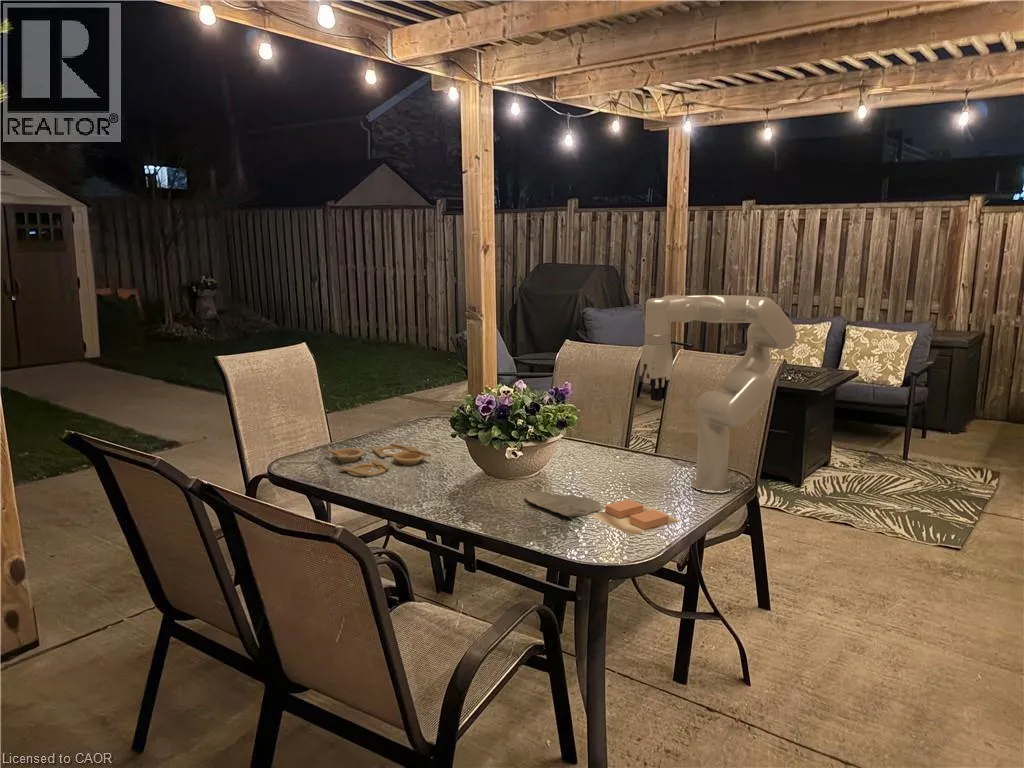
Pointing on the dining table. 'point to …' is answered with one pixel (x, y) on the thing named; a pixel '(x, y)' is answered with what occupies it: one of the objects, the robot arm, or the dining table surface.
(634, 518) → the tile
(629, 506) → the tile
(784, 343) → the robot arm
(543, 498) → the stone tool
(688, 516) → the dining table surface
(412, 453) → the tableware set
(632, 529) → the board
